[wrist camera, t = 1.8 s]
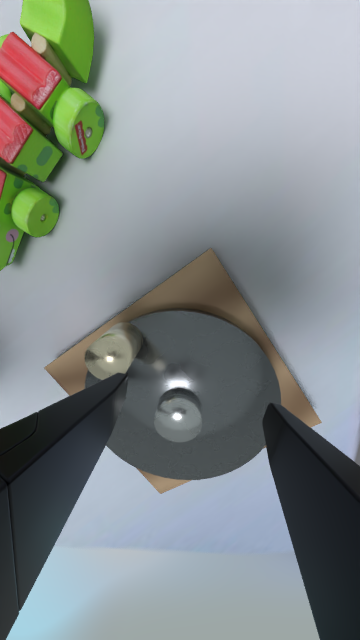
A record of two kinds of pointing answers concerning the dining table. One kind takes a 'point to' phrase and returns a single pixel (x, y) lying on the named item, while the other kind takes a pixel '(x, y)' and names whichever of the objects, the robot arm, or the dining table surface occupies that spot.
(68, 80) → the toy crocodile
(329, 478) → the robot arm
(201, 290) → the wheel base
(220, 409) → the handwheel
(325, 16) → the dining table surface
